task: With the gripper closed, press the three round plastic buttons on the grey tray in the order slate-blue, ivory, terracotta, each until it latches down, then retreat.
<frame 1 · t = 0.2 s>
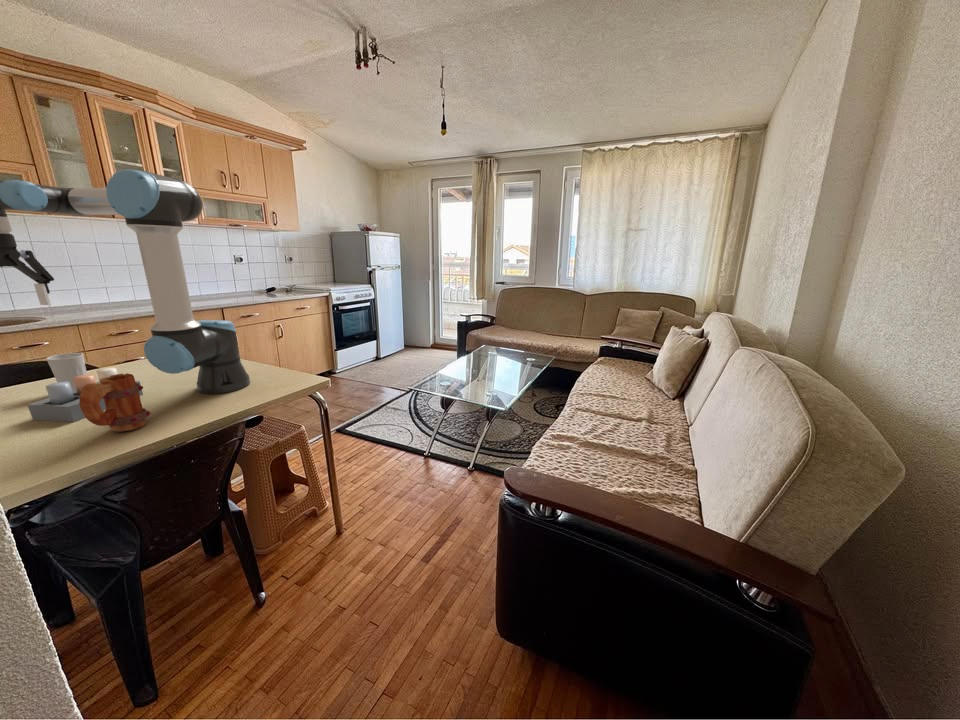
hand: (17, 308, 109), 28 cm above the table, fingers open, 13 cm apart
mug: (122, 433, 95), on the table
button terracotta: (86, 384, 108), point 7 cm above the table, slide at 0.0 cm
grey tray: (92, 406, 110), on the table
cup: (76, 391, 120), on the table
button slate: (60, 393, 102), point 7 cm above the table, slide at 0.0 cm
button ivory: (108, 377, 114), point 7 cm above the table, slide at 0.0 cm
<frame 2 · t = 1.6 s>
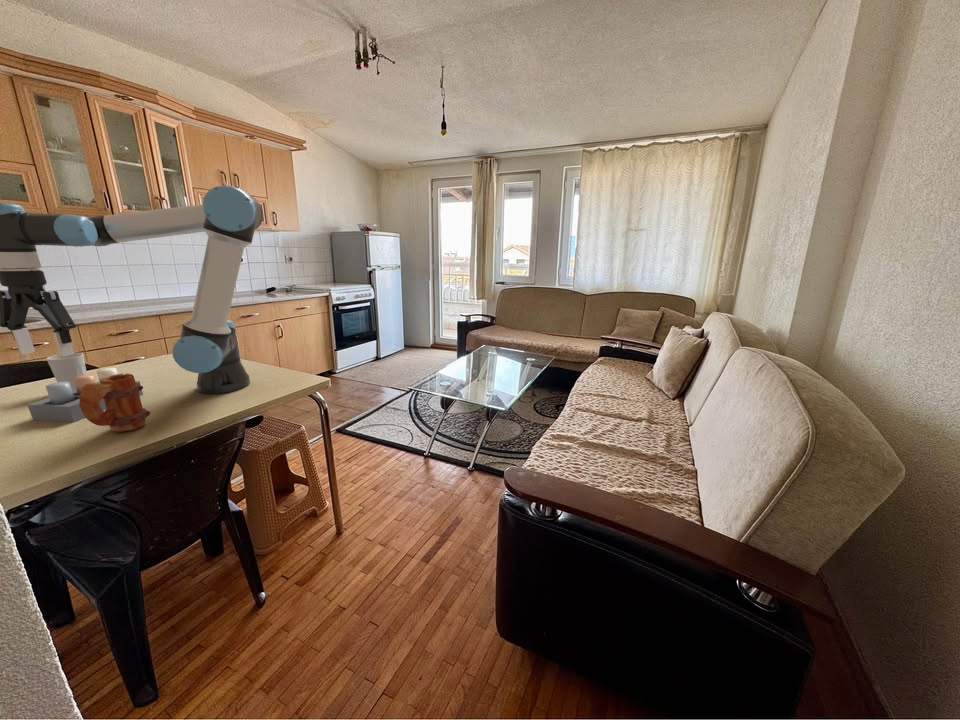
hand: (47, 354, 99), 18 cm above the table, fingers open, 11 cm apart
nothing on the table moved.
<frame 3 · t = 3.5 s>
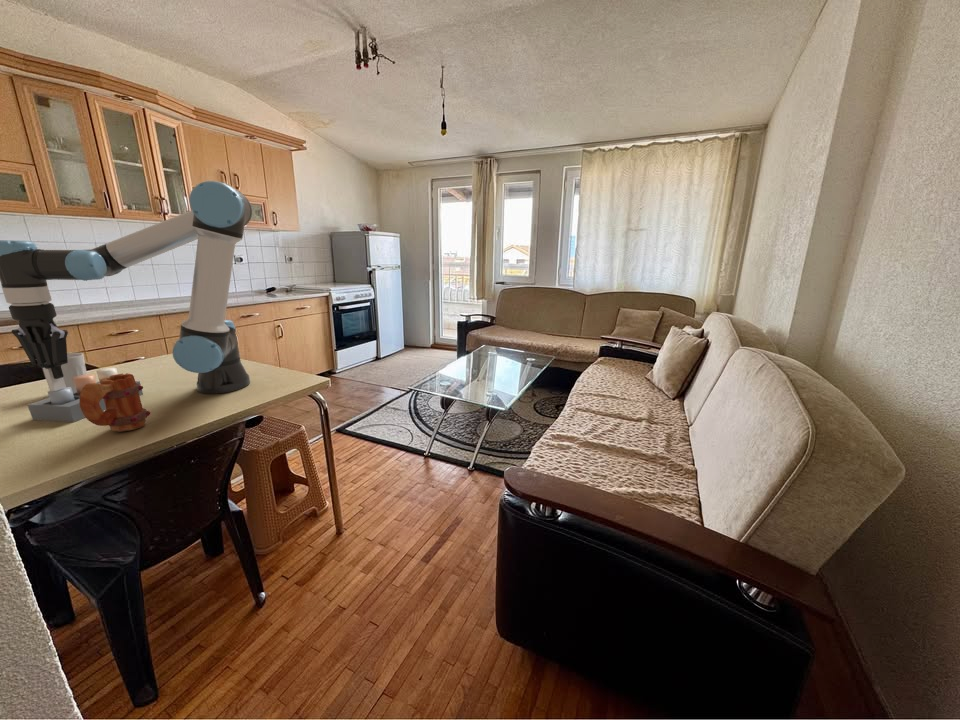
hand: (58, 389, 101), 8 cm above the table, fingers closed
button slate: (62, 398, 102), point 5 cm above the table, slide at 1.6 cm, touching gripper
everything else where it was.
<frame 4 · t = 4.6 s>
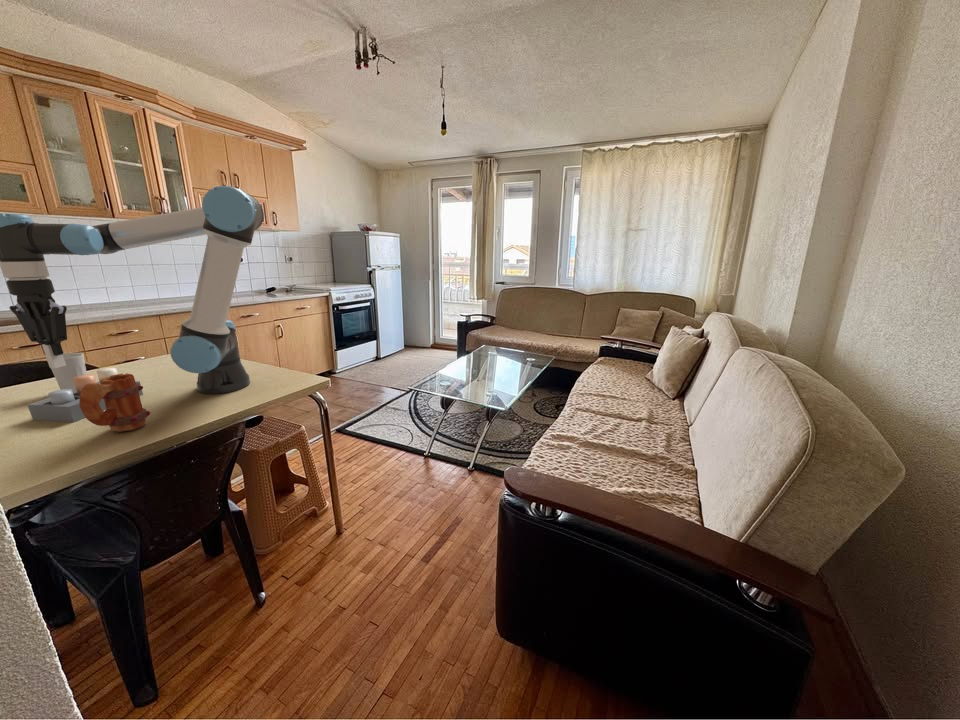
hand: (58, 366, 101), 14 cm above the table, fingers closed
button slate: (62, 400, 102), point 5 cm above the table, slide at 2.2 cm
everything else where it was.
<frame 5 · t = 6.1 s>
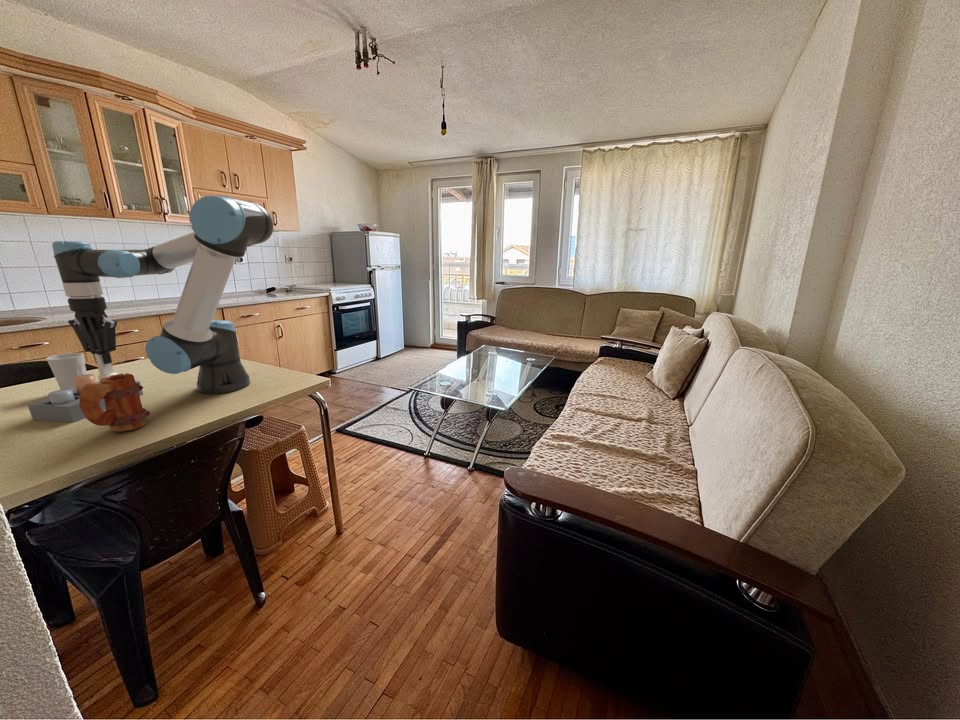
hand: (107, 373, 114), 8 cm above the table, fingers closed
button ivory: (110, 381, 115), point 5 cm above the table, slide at 1.5 cm, touching gripper
everything else where it was.
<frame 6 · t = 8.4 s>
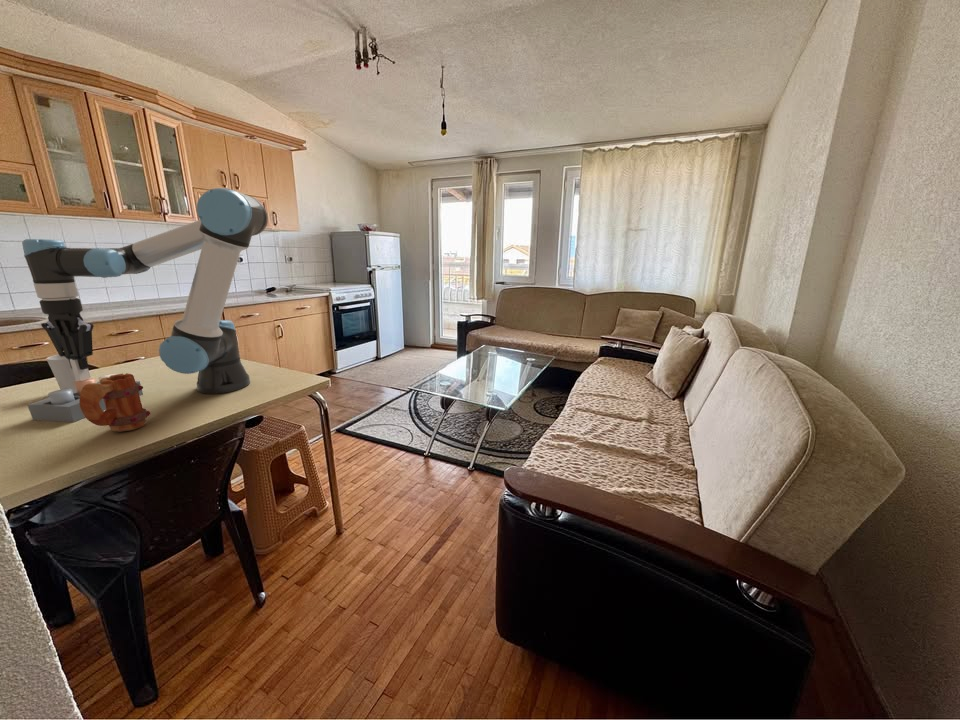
hand: (83, 379, 107), 8 cm above the table, fingers closed
button terracotta: (87, 388, 108), point 6 cm above the table, slide at 1.2 cm, touching gripper
button ivory: (110, 383, 115), point 5 cm above the table, slide at 2.2 cm
everything else where it was.
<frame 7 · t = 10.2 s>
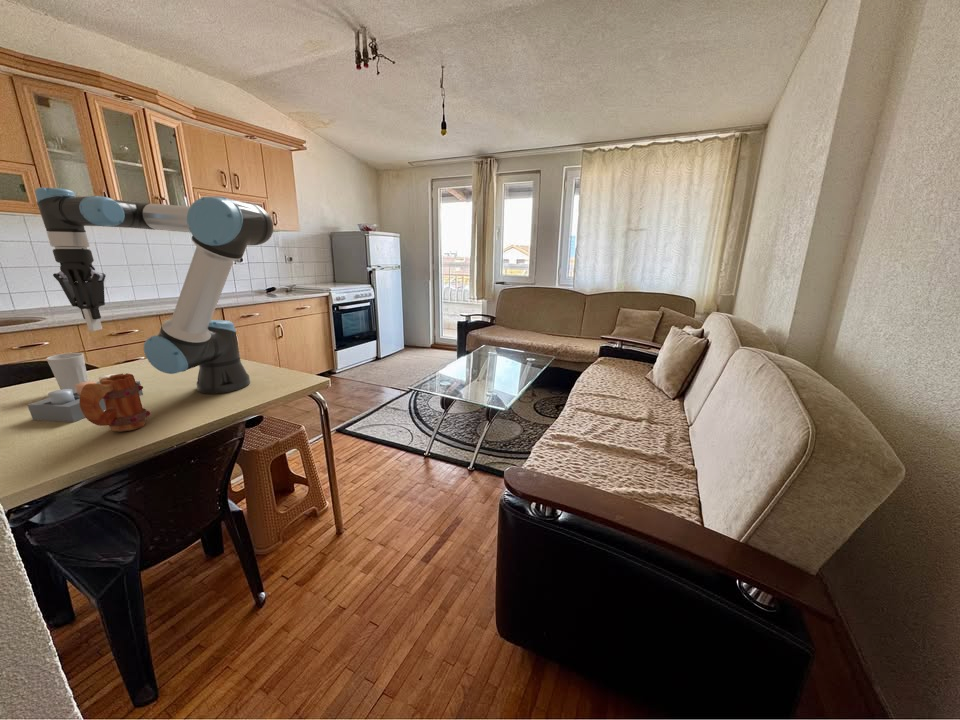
hand: (95, 329, 111), 22 cm above the table, fingers closed
button terracotta: (88, 391, 109), point 5 cm above the table, slide at 2.2 cm
everything else where it was.
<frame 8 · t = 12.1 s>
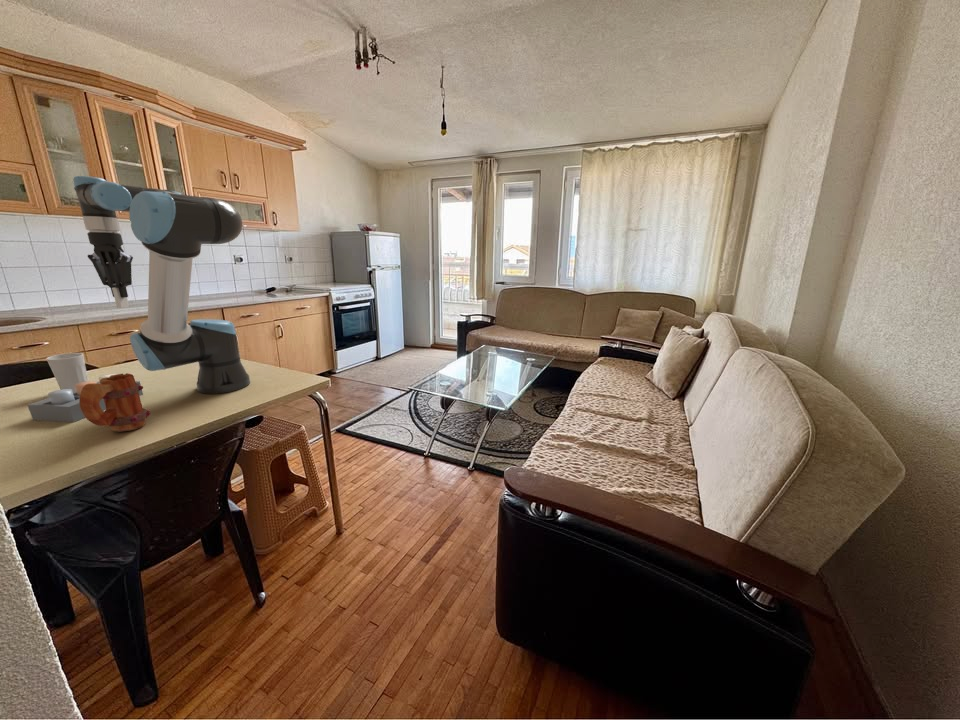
hand: (123, 307, 122), 26 cm above the table, fingers closed
nothing on the table moved.
at the end: button slate slide at 2.2 cm; button ivory slide at 2.2 cm; button terracotta slide at 2.2 cm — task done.
